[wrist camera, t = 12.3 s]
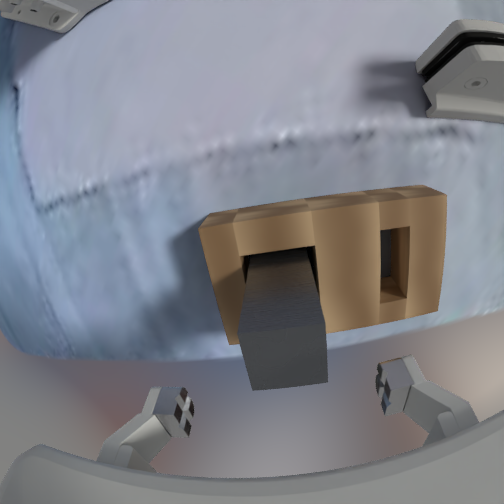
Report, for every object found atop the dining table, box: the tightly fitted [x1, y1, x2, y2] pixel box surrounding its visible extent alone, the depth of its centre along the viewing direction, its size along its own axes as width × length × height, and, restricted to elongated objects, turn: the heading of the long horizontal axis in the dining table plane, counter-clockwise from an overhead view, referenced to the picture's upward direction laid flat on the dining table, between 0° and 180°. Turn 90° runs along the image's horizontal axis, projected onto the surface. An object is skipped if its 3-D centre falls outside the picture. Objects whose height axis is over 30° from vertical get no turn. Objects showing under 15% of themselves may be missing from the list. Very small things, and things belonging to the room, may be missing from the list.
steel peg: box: [237, 247, 328, 390], centre depth 19 cm, size 4×4×12 cm
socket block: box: [198, 185, 447, 345], centre depth 22 cm, size 18×10×4 cm, turn 100°
